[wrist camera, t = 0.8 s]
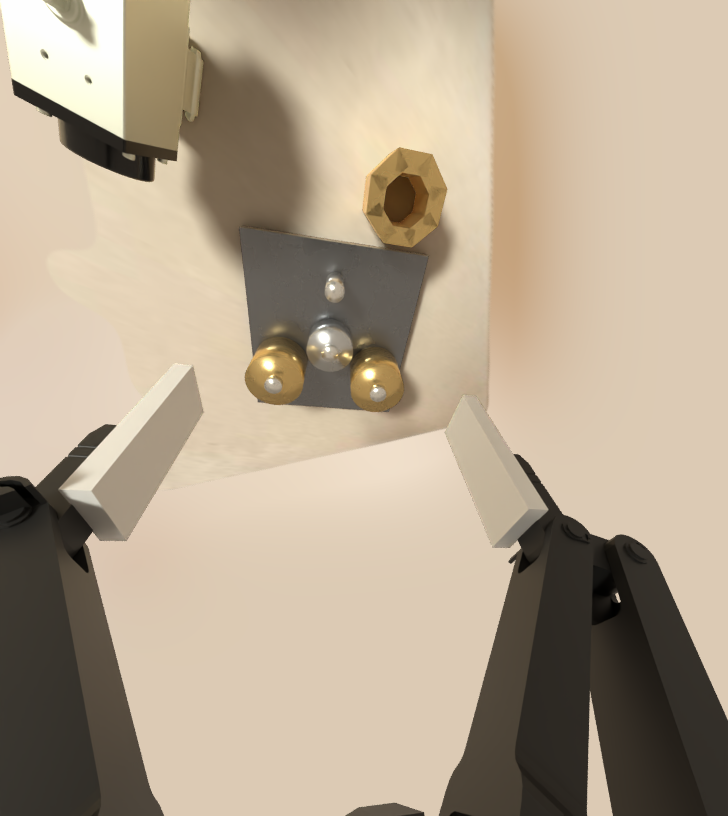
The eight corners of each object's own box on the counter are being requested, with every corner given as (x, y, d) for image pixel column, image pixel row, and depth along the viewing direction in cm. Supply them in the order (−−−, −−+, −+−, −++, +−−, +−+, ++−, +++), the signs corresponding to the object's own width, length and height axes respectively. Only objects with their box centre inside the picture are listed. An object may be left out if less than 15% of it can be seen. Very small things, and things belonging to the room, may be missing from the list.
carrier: (242, 225, 26) (217, 235, 21) (425, 254, 29) (445, 270, 23) (259, 396, 39) (246, 431, 33) (387, 406, 41) (395, 440, 36)
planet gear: (369, 149, 24) (374, 142, 20) (437, 163, 25) (455, 158, 21) (359, 232, 27) (362, 239, 23) (418, 241, 28) (431, 250, 24)
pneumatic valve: (226, -21, 18) (104, -240, 9) (200, 184, 24) (112, 183, 15) (127, -98, 16) (-158, -474, 7) (126, 144, 23) (-26, 116, 13)
